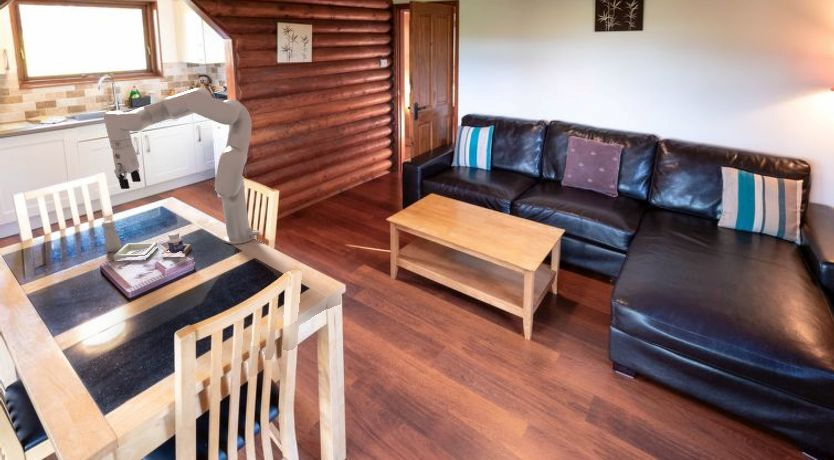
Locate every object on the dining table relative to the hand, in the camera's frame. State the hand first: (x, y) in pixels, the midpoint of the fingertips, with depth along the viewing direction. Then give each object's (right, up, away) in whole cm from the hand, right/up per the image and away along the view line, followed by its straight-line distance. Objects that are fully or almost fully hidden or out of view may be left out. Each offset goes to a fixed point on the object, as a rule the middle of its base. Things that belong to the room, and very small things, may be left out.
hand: (131, 185), depth 199 cm
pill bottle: (+17, -28, +3) cm, 33 cm away
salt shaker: (-10, -27, +6) cm, 29 cm away
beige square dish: (+17, -28, +3) cm, 33 cm away
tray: (+1, -28, +2) cm, 29 cm away
